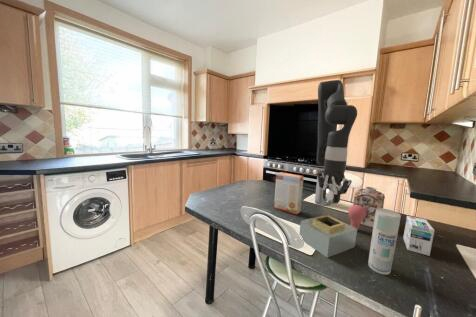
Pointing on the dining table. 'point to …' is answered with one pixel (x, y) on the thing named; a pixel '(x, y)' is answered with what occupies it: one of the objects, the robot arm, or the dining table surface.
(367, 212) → the decorative jar
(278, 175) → the cracker box
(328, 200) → the pellet
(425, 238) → the light bulb box
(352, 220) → the light bulb
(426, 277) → the dining table surface
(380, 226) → the spray can
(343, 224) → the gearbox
